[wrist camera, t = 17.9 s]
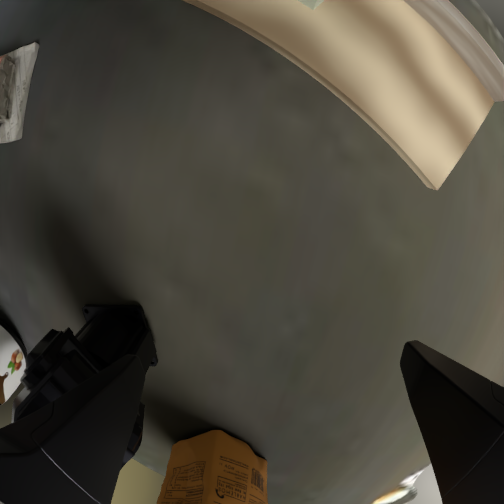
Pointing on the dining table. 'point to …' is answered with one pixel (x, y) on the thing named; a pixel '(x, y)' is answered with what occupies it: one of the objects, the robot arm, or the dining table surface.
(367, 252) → the dining table surface
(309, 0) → the carton
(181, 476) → the coffee package
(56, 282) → the dining table surface
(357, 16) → the shelf
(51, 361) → the robot arm
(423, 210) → the dining table surface
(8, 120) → the packaged product
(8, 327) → the spread jar
